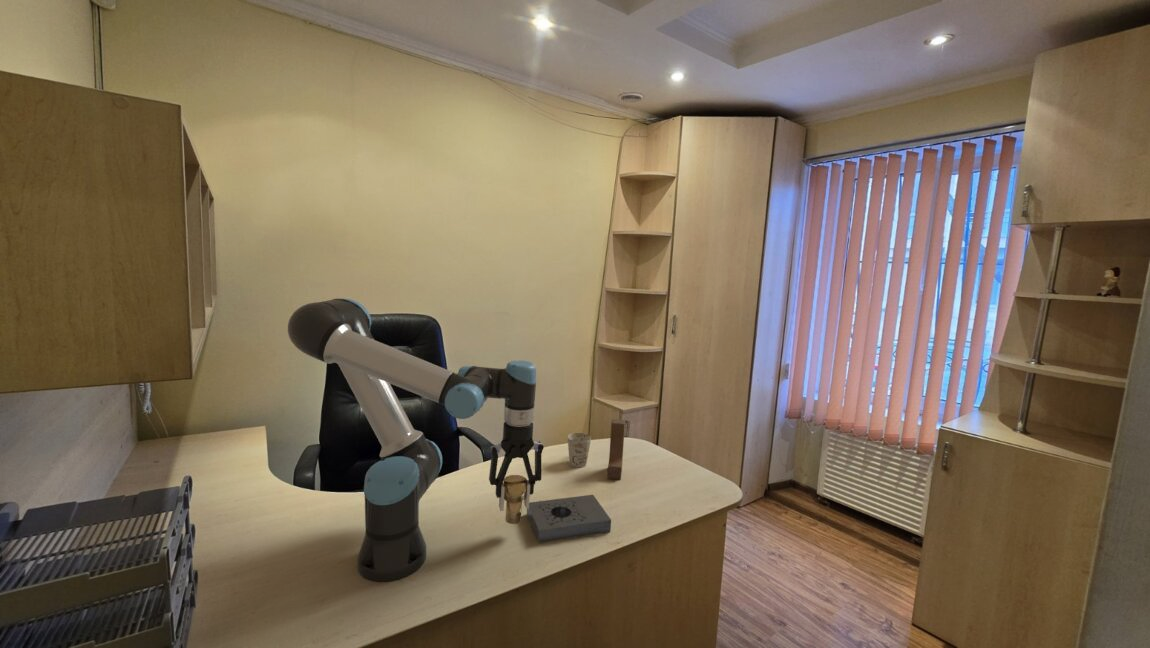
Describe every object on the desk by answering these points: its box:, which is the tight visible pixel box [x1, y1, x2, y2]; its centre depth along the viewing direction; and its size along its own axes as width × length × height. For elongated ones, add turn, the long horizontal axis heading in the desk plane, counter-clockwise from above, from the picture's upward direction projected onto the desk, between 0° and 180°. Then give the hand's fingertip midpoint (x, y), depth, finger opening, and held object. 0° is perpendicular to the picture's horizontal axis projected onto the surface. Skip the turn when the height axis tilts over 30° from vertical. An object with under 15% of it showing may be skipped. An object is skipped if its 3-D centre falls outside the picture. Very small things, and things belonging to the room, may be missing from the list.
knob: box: [503, 474, 528, 525], centre depth 122 cm, size 6×6×11 cm
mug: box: [567, 432, 592, 468], centre depth 169 cm, size 8×13×10 cm, turn 171°
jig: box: [526, 494, 612, 544], centre depth 130 cm, size 20×14×4 cm
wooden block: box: [607, 418, 626, 480], centre depth 160 cm, size 9×4×18 cm, turn 172°
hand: (513, 506), depth 122 cm, fingers closed on knob, 6 cm apart
